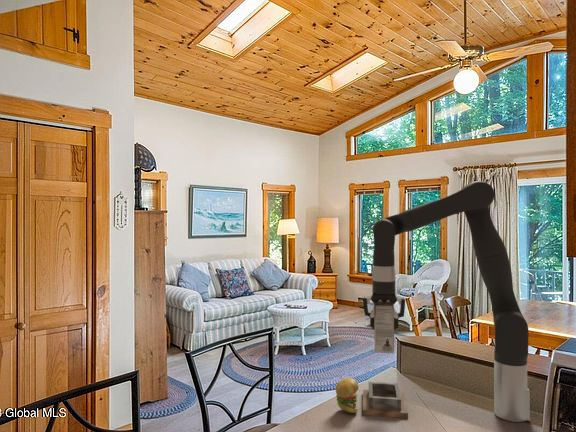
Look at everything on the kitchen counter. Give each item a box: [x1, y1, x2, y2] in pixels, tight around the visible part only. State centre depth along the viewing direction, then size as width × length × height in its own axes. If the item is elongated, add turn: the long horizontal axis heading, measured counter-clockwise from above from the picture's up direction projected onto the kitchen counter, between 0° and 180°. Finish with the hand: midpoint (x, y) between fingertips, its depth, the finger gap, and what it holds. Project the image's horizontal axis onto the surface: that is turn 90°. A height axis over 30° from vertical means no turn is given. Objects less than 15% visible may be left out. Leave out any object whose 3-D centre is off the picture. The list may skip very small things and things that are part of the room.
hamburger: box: [335, 375, 359, 414], centre depth 138 cm, size 8×7×12 cm
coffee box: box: [373, 302, 395, 354], centre depth 143 cm, size 9×6×16 cm
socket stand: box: [362, 381, 409, 419], centre depth 143 cm, size 14×16×5 cm
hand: (384, 328), depth 143 cm, fingers closed on coffee box, 6 cm apart
